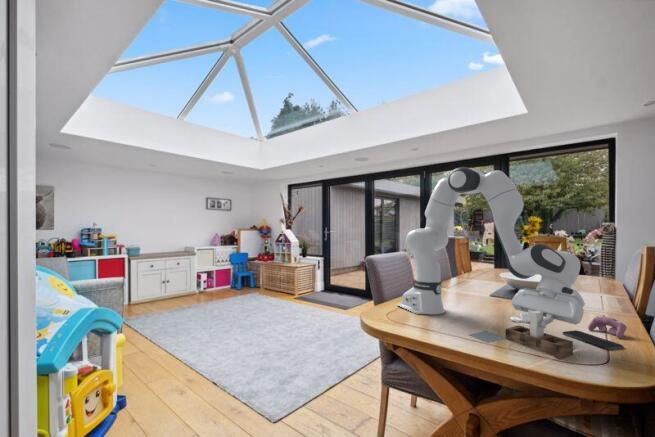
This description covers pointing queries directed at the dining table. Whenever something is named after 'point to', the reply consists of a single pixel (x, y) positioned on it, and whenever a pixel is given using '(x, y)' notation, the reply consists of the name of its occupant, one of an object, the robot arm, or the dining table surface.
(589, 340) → the phone
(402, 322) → the dining table surface
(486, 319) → the dining table surface
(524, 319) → the teacup and saucer
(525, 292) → the robot arm
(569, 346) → the rack
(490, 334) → the mat
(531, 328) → the block
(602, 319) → the video game controller
